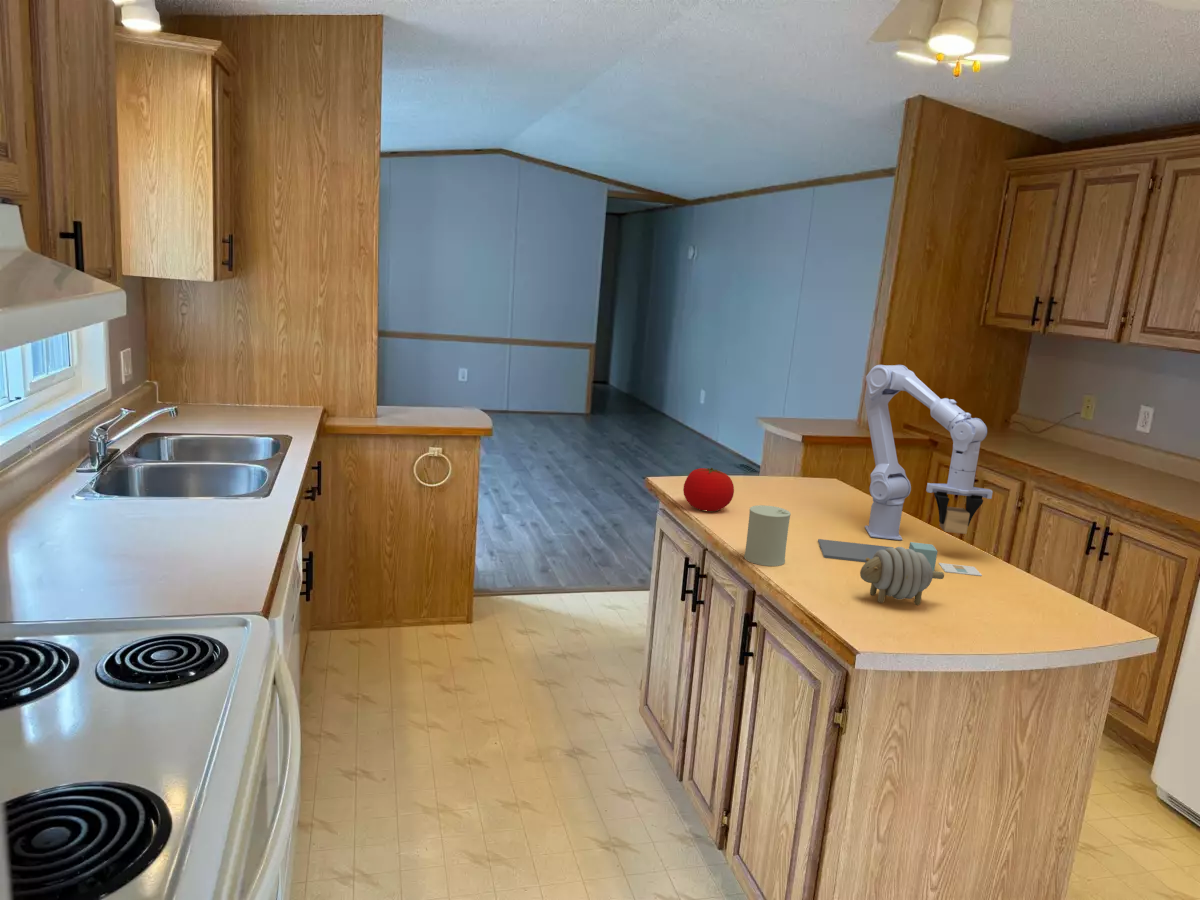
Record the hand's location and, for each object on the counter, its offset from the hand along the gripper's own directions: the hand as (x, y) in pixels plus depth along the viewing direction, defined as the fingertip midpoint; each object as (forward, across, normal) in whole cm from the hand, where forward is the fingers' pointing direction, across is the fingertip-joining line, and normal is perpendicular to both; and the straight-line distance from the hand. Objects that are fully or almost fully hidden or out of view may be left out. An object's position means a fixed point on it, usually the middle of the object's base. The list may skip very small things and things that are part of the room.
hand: (953, 524), depth 200 cm
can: (+8, -45, -19) cm, 50 cm away
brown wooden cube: (+2, 0, 0) cm, 2 cm away
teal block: (+8, -9, -11) cm, 16 cm away
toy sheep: (+8, -19, -36) cm, 42 cm away
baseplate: (+8, -22, -6) cm, 24 cm away
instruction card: (+8, 0, -10) cm, 13 cm away
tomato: (+8, -59, +20) cm, 63 cm away
